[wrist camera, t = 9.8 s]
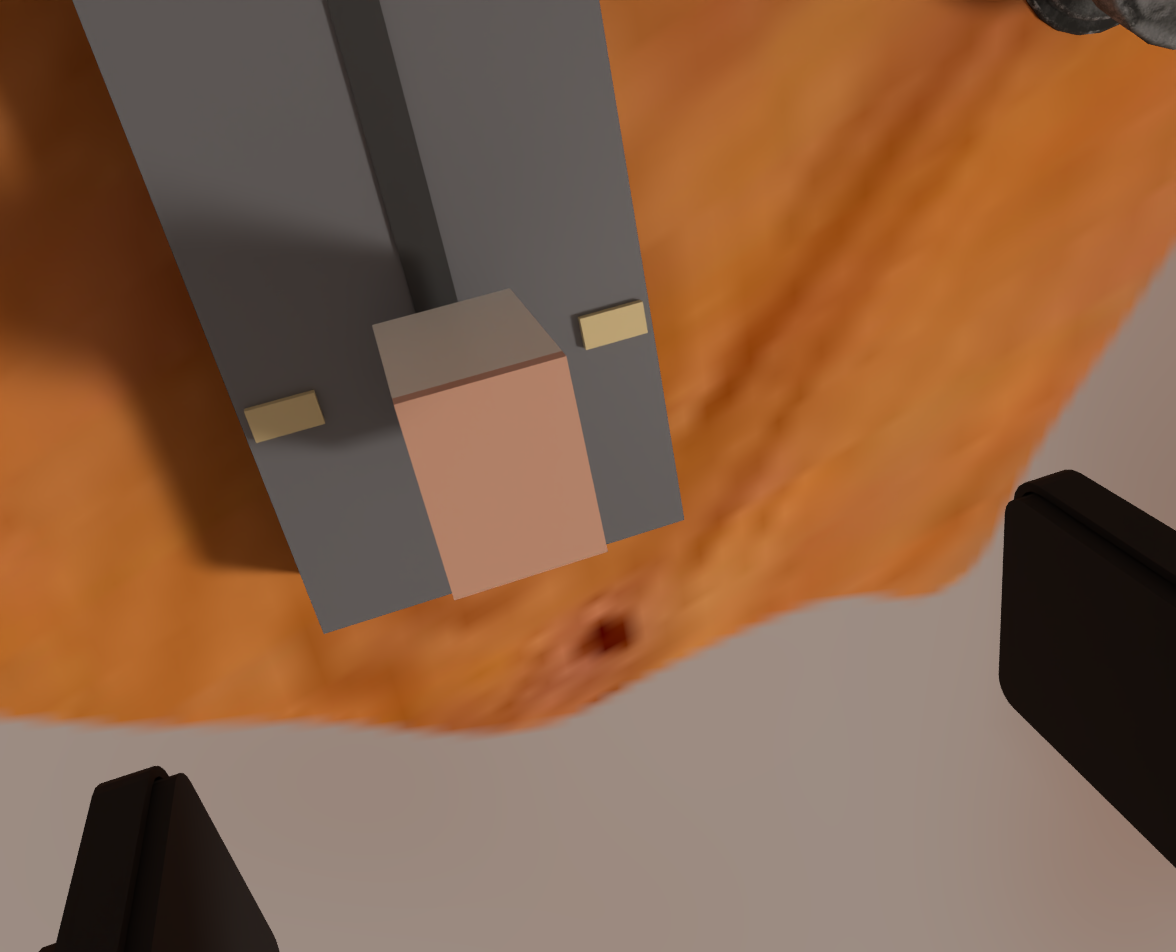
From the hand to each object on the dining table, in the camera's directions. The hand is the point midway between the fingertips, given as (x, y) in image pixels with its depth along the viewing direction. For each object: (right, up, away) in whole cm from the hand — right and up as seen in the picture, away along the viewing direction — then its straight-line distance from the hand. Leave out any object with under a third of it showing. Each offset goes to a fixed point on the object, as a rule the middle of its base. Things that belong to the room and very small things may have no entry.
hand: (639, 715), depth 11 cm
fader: (-4, +5, +12) cm, 13 cm away
